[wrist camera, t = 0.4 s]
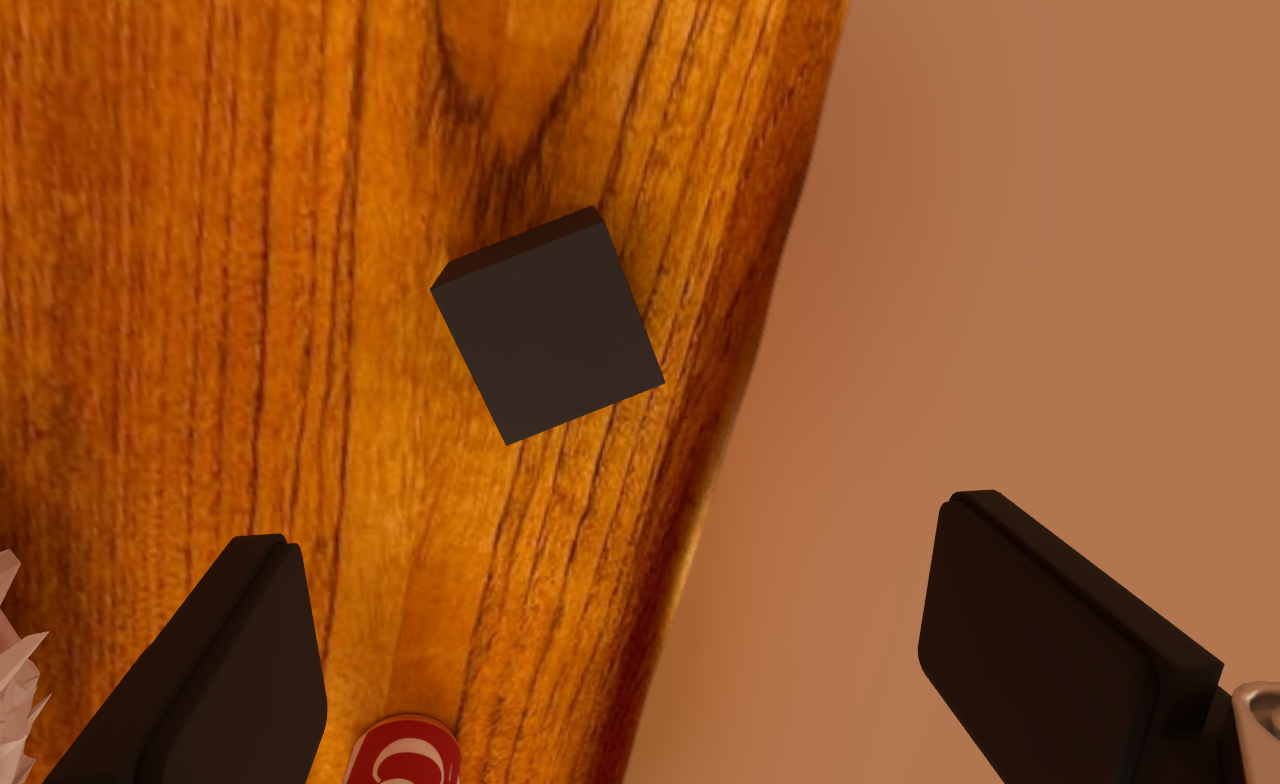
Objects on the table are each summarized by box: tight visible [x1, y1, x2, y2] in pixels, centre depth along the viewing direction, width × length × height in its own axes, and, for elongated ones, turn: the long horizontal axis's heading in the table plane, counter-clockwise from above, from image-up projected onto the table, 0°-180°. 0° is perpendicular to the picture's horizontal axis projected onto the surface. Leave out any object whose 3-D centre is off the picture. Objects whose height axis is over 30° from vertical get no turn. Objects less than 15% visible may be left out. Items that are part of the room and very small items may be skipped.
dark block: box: [430, 205, 665, 446], centre depth 27 cm, size 6×6×5 cm
